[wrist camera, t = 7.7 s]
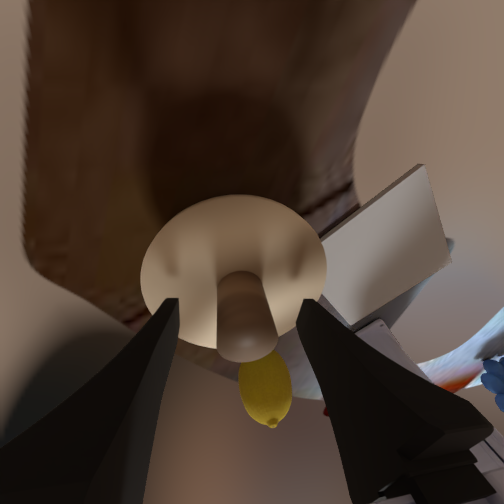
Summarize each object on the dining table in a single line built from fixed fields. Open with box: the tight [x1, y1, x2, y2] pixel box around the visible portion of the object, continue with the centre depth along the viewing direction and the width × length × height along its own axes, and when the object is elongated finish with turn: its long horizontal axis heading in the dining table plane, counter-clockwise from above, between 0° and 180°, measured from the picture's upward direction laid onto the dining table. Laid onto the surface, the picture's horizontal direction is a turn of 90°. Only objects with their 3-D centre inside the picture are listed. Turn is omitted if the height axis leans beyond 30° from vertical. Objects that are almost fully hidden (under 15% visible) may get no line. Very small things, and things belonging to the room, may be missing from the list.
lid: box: [141, 194, 327, 362], centre depth 11 cm, size 12×12×5 cm
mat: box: [320, 164, 452, 326], centre depth 20 cm, size 13×13×1 cm
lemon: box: [239, 350, 292, 428], centre depth 21 cm, size 6×6×8 cm
